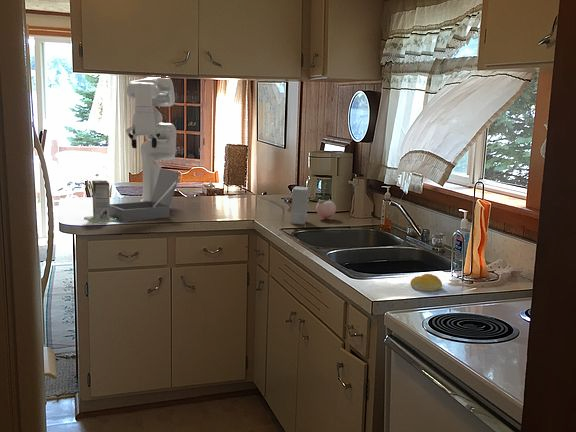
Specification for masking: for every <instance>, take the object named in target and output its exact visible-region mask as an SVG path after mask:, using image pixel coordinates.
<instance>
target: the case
mask: <svg viewBox="0 0 576 432" xmlns="http://www.w3.org/2000/svg"><path fill="white" fill-rule="evenodd" d="M180 174H181V172H179V171H174V170H170V169H164V168H161V169H160V172H159V176H158V179H157V183H156V186H155V190H154V193H153V197H152V200H151V201H146V202H140V201H136V202H121V203H110V216H111V217H112V218H116V219H117V220H118V221H120V220H121V221H120V222H125V223H126V222H134V221H147V220H154V219H155V220H157V219H163V218H164V219H166V218H167V219H168V218H170V214H171V213H170V211H171V210H170V207H171V205H172V202H173V198H174V195H175V190H176V189H177V184H180V183H181V182H180V181H181V179H180V178H179V176H180Z"/></svg>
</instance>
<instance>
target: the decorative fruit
mask: <svg viewBox="0 0 576 432" xmlns="http://www.w3.org/2000/svg"><path fill="white" fill-rule="evenodd" d="M315 210H316V213H317V214H318V216H319V217H320V218H323V220H327V219H330V218H331V217H332V216H334V215H335V213H336V211H337V205H336V202H335V201H334V200H331V199H328V197H326V199H325V200H324V199H321V200H318V201H317V204H316V207H315Z"/></svg>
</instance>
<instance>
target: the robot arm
mask: <svg viewBox="0 0 576 432" xmlns="http://www.w3.org/2000/svg"><path fill="white" fill-rule="evenodd" d="M126 94H127V97H128V99H131V100H135V101H134V105H135V107H134V108H135V109H134V113H133V114H132V115H133V116H132V121H131V126H130V127H128V128H127V129H125V133H126V134H127V136H128V137H129V139H130V140H131V147H132V149H137V137H138V136H144V137H145V139H146V141H143V142H142V143H141V144H140V154H141V161H142V162H141V163H142V194H141V196H142V199H141V198H140V199H139V202H146V201H151V200H152V197H153V193H154V190H155V186H156V183H157V179H158V176H159V172H160V169H162V166H161V165H160V164H159V162H158V161H159V160H161V161H171V160H174V159H175V157H176V154H177V153H176V150H177V128H176V126H175V125H174V124H173V123H170V122H163V115H162V113H161V112H160V110H158V109H157V108H156V107H172V106H174V104H175V102H176V97H175V96H176V95H175V88H174V83H173V81H172V79H171V77H169V78H161V77H149V76H147V77H145V78H141V79H137V80H136V79H135V80H131V81H130V82H128V84H127V87H126Z"/></svg>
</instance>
